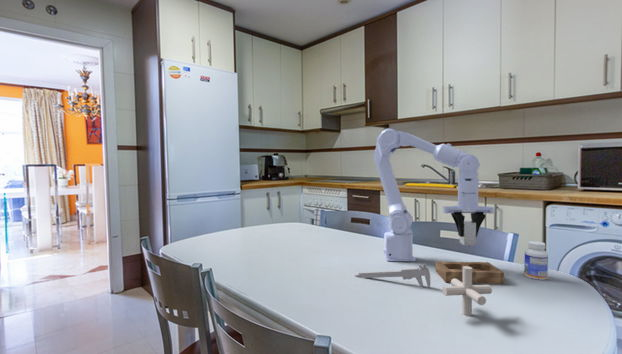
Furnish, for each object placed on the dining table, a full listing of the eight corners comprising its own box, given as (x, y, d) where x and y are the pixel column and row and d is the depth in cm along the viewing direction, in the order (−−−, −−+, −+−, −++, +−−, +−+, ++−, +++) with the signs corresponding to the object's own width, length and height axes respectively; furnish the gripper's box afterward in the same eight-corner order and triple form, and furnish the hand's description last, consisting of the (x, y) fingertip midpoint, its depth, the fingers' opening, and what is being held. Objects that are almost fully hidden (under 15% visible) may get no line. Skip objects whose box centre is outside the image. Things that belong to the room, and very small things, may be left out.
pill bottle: (524, 272, 92) (524, 239, 92) (547, 275, 89) (548, 241, 89) (523, 277, 88) (524, 243, 88) (548, 281, 85) (548, 246, 84)
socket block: (445, 282, 85) (445, 271, 85) (435, 271, 94) (435, 261, 94) (504, 283, 84) (504, 272, 84) (488, 272, 93) (488, 262, 93)
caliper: (430, 287, 82) (430, 264, 82) (429, 289, 81) (430, 265, 81) (355, 276, 91) (355, 254, 91) (354, 277, 90) (354, 255, 90)
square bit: (464, 245, 97) (464, 222, 97) (459, 242, 101) (459, 220, 100) (475, 245, 97) (476, 222, 96) (471, 242, 100) (471, 220, 100)
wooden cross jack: (433, 304, 72) (433, 261, 71) (475, 302, 73) (475, 259, 72) (457, 326, 62) (457, 276, 61) (505, 324, 63) (505, 274, 62)
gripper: (448, 194, 95) (448, 238, 95) (498, 194, 93) (498, 239, 94) (440, 192, 102) (440, 233, 102) (487, 192, 100) (487, 234, 101)
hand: (467, 236), depth 99 cm, fingers closed on square bit, 3 cm apart
